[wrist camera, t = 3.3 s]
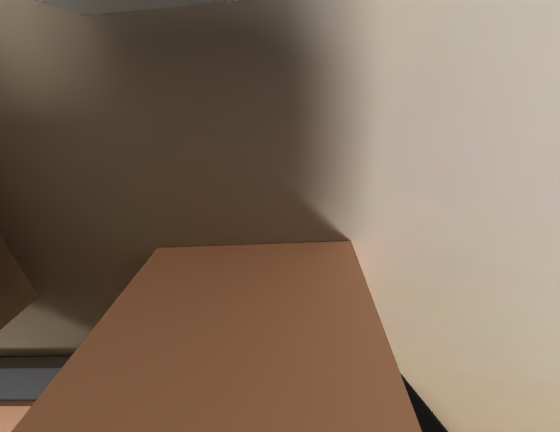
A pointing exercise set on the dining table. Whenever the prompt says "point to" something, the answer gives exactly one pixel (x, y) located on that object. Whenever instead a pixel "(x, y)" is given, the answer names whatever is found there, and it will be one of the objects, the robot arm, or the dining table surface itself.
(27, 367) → the card
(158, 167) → the dining table surface
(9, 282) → the tan block
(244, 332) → the terracotta cube
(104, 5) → the slate grey cube
